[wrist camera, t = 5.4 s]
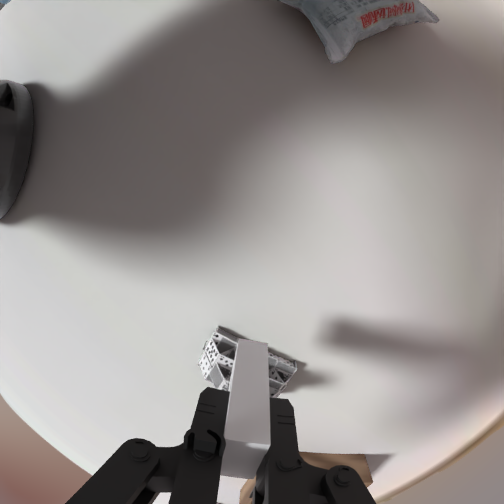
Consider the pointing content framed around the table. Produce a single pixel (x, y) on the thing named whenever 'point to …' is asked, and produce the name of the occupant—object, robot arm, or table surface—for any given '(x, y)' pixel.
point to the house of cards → (222, 358)
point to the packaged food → (357, 20)
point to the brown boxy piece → (323, 462)
